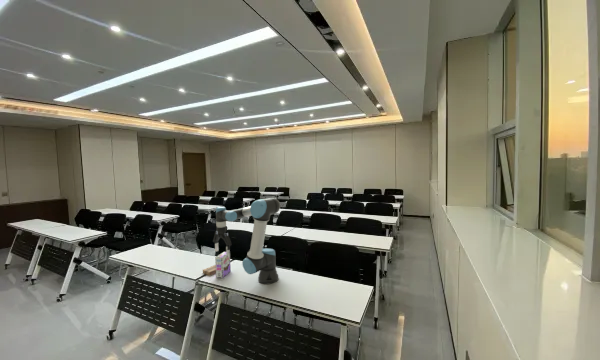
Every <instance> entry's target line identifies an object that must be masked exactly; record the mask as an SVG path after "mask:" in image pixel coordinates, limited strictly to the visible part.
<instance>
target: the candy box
mask: <svg viewBox="0 0 600 360" xmlns="http://www.w3.org/2000/svg"><path fill="white" fill-rule="evenodd" d="M215 265H216V273H215V278H218V279H223V278H225V277H226V276H227V275H228V274H230V272H231V253H230V254H226V251H223V252H221V253H220V254H218V255H217V256H216V257H215Z"/></svg>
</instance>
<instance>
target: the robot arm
mask: <svg viewBox="0 0 600 360" xmlns="http://www.w3.org/2000/svg"><path fill="white" fill-rule="evenodd" d="M280 209H281V204H280V200H278V198H276V197H269V198H263V199H261V198H260V199H256V200H254V201H253V202H252V203H251V204H250V206H246V207H240V208H238V209H237V208H236V209H231V210H227V208H226V207H225V206H218V207H216V208H215V219H216V220H215V222H216V223H215V224H216V231H214V236H213V239H212V242H213V243H214V249H215V250H214V251H215V252H219V249H220V248H219V241H220V239H222V240H223V241H224V243H225V245H226V246H225V252H226V254H230V255H231V251H230V250H231V246H232V244H233V243H232V241H231V238H230V235H229V232H227V221H229V222H235V221H236V220H238V219H242V218H247V217H251V216H252V219H253V220H254V221H253V229H252V235H251V241H250V249H249V250H248V251H247V254H246V257H245V258H244V259H243V260H242V264H241V265H242V267H243V269H244V272H245V273H247V274H248V275H253V274H256V273H257V272H259V273H258V277H257V279H258V282H259V283H260V284H266V285H269V284H273V283H276V282H278V281H279V273H278V271H277V268H276V266H277V265H276V263H277V261H276V250H275V249H273V248H264V243H265V236H266V231H267V225H268V222H269V221H270V220H271V219H270V218H271V215H275V214H277V213H278V212H279V211H280ZM226 232H227V233H226Z"/></svg>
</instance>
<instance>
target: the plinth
mask: <svg viewBox="0 0 600 360" xmlns="http://www.w3.org/2000/svg"><path fill="white" fill-rule="evenodd" d="M203 273H204V274H203ZM202 274H203V275H206V276H208V277H211V276H213V275H216V264H214V265H212V266H210V267H206V268H204V269H202Z"/></svg>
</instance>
